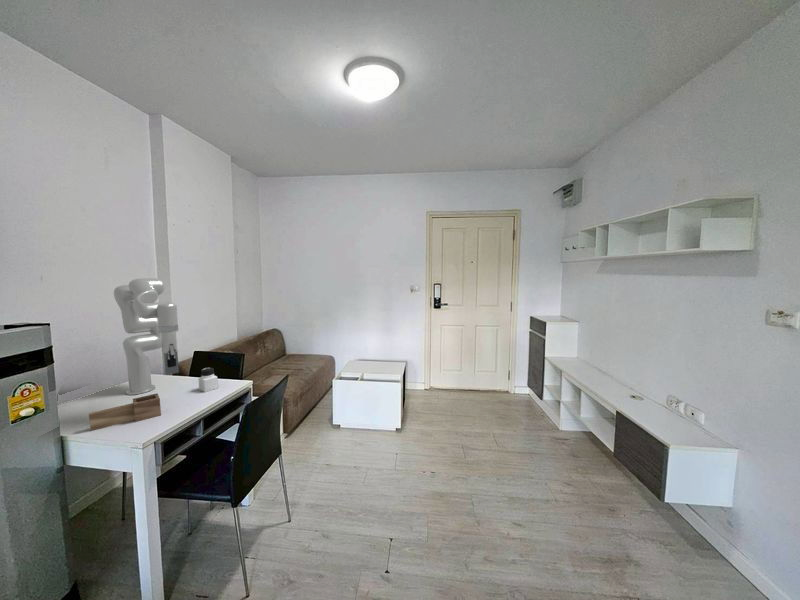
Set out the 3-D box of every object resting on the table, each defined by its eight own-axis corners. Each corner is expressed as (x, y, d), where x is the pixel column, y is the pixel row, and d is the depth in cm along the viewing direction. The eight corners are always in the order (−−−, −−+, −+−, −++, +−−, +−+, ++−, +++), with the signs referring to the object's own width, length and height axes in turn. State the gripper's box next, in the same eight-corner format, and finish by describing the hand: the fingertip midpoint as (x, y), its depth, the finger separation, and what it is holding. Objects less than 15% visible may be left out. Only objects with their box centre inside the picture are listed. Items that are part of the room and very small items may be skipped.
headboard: (91, 426, 129) (89, 408, 129) (158, 409, 145) (157, 393, 145) (90, 433, 123) (88, 415, 122) (161, 415, 139) (159, 398, 138)
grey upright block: (165, 373, 145) (163, 349, 144) (177, 371, 149) (176, 347, 148) (166, 374, 143) (164, 350, 142) (178, 372, 147) (177, 348, 146)
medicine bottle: (218, 388, 171) (217, 368, 170) (204, 392, 166) (203, 371, 165) (212, 385, 175) (211, 366, 174) (198, 389, 170) (197, 369, 168)
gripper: (156, 327, 147) (159, 364, 149) (161, 332, 136) (164, 371, 137) (175, 325, 152) (177, 360, 154) (181, 329, 141) (184, 367, 142)
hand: (171, 365), depth 146 cm, fingers closed on grey upright block, 3 cm apart
